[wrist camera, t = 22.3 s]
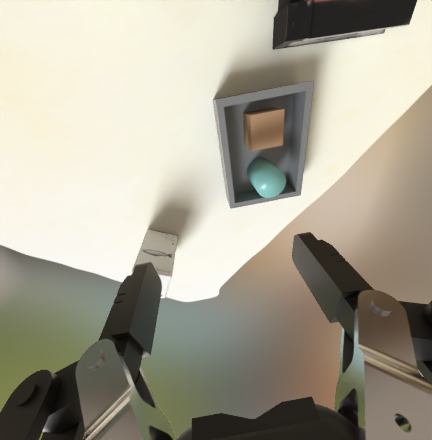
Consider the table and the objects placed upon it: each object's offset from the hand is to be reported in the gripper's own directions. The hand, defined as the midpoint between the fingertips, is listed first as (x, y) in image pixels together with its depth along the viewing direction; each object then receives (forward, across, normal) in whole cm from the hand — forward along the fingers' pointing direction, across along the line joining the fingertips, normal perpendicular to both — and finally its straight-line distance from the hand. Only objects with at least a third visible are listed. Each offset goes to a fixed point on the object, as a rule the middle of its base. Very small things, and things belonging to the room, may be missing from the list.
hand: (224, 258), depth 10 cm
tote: (+28, -10, +2) cm, 30 cm away
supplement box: (+28, +15, +20) cm, 38 cm away
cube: (+27, -10, -2) cm, 29 cm away
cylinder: (+27, -10, +6) cm, 30 cm away
